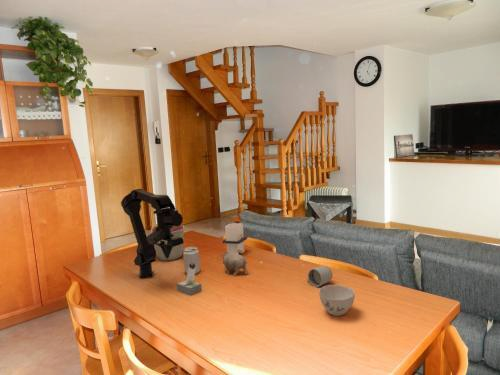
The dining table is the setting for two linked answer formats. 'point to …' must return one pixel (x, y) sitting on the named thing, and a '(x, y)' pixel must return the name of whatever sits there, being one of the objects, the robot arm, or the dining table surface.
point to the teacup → (336, 298)
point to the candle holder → (234, 238)
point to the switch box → (189, 287)
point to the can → (191, 258)
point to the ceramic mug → (319, 276)
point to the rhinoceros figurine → (234, 263)
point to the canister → (176, 250)
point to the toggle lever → (190, 273)
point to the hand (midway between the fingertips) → (167, 258)
